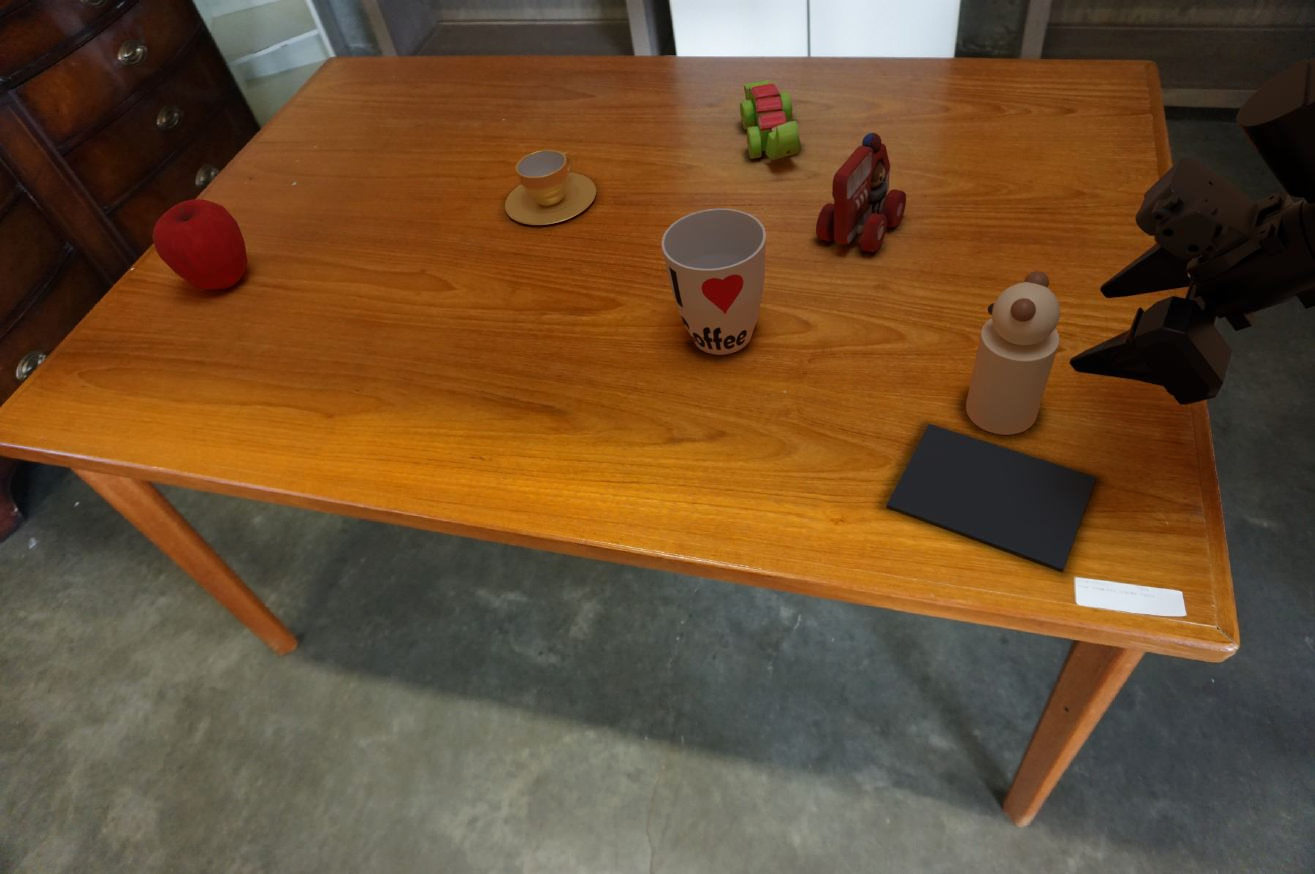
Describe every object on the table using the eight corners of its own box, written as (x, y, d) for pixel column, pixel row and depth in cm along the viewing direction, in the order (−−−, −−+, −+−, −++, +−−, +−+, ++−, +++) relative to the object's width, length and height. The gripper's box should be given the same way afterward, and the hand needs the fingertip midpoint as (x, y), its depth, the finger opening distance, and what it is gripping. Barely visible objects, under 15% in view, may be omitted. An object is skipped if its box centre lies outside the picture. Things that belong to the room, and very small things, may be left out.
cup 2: (661, 356, 86) (644, 261, 77) (697, 297, 91) (685, 202, 82) (750, 375, 82) (744, 277, 73) (782, 313, 88) (780, 215, 79)
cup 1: (554, 237, 102) (544, 199, 98) (487, 212, 108) (474, 175, 104) (615, 188, 108) (608, 149, 104) (548, 166, 114) (539, 130, 110)
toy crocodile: (736, 106, 118) (734, 63, 114) (783, 99, 118) (782, 56, 113) (754, 180, 105) (752, 135, 100) (807, 173, 104) (807, 127, 100)
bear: (956, 422, 75) (980, 300, 64) (977, 379, 78) (1004, 256, 67) (1025, 443, 72) (1062, 320, 62) (1045, 398, 75) (1083, 273, 65)
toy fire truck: (911, 207, 97) (921, 123, 89) (866, 268, 91) (871, 183, 83) (856, 194, 100) (860, 112, 92) (808, 252, 94) (808, 169, 86)
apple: (193, 268, 109) (144, 195, 100) (266, 249, 109) (223, 175, 101) (182, 314, 102) (129, 240, 94) (260, 294, 103) (214, 218, 95)
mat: (1095, 479, 69) (1096, 476, 68) (1062, 572, 64) (1063, 569, 63) (928, 426, 75) (928, 423, 75) (886, 507, 70) (886, 504, 69)
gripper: (1277, 69, 55) (1060, 185, 68) (1229, 225, 45) (987, 326, 58) (1362, 197, 57) (1137, 286, 70) (1333, 372, 47) (1079, 437, 60)
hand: (1088, 327), depth 64 cm, fingers open, 9 cm apart
